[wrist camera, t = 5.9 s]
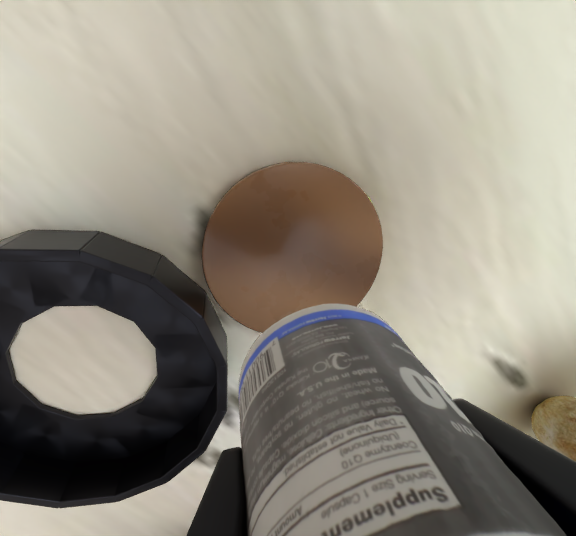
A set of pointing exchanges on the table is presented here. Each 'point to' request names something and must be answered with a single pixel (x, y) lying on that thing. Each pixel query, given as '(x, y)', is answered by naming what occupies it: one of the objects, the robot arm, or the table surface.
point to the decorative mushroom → (556, 424)
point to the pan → (132, 419)
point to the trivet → (290, 243)
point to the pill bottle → (365, 440)
